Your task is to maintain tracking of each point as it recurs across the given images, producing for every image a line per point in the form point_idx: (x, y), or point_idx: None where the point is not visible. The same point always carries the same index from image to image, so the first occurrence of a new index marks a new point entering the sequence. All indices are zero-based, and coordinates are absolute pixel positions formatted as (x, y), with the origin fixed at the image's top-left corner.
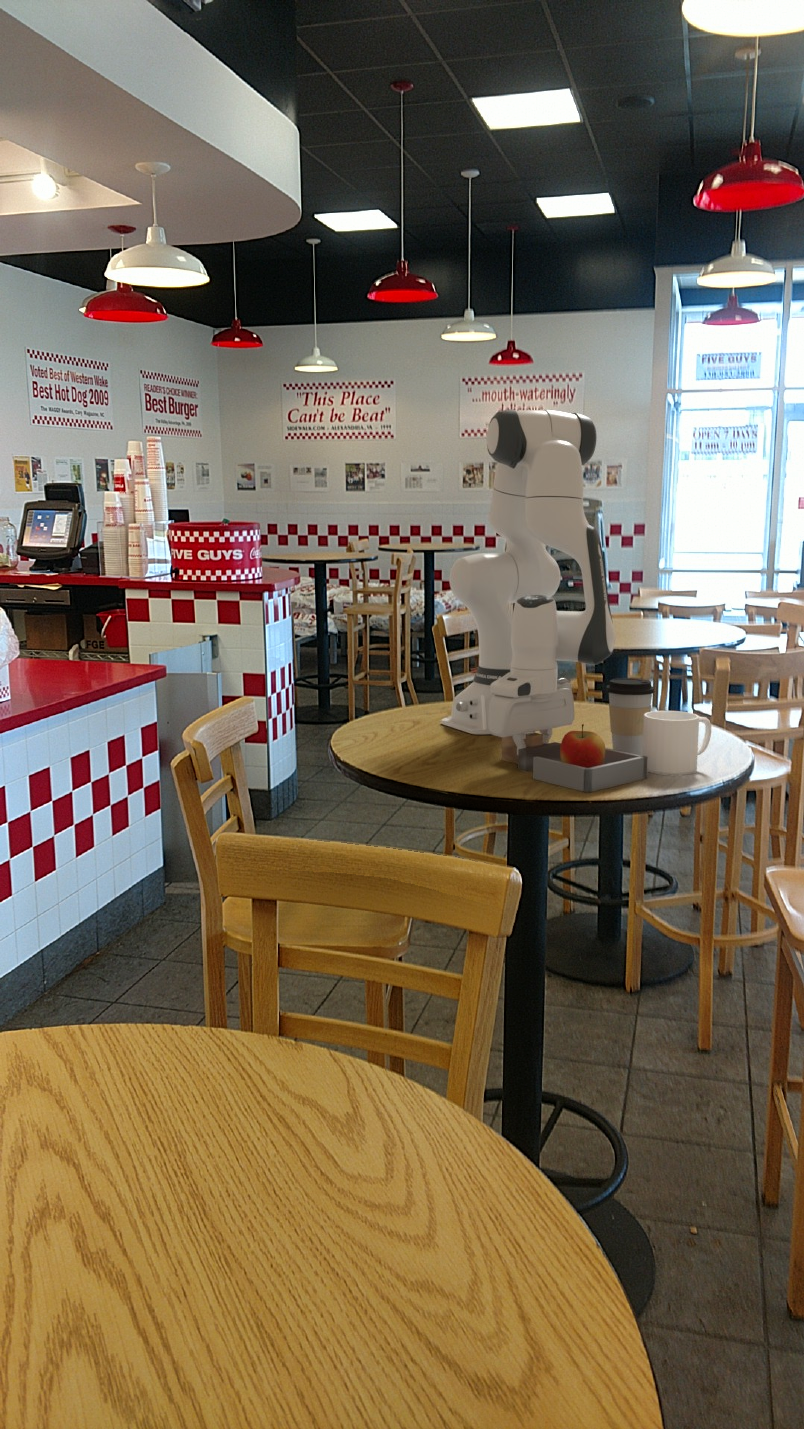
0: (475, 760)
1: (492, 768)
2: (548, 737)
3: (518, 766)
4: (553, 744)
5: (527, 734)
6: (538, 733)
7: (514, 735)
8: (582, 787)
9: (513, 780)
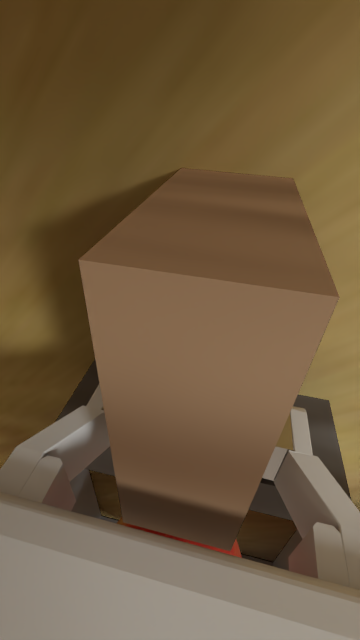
0: (11, 21)
1: (14, 270)
2: (299, 528)
3: (90, 368)
4: (277, 507)
5: (142, 500)
6: (233, 536)
7: (7, 477)
8: None
9: (4, 401)
